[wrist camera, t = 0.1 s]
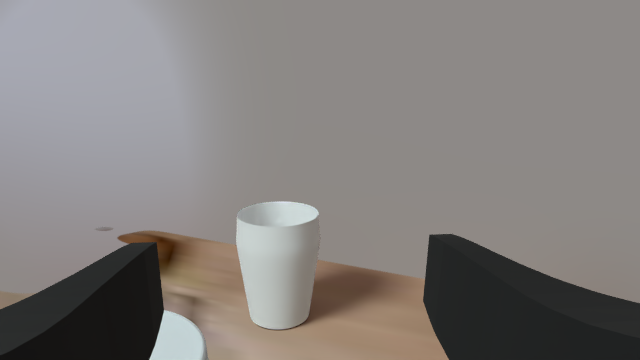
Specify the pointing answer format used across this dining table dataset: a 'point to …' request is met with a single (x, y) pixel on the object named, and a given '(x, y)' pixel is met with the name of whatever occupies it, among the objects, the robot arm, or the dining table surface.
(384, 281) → the dining table surface
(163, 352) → the supplement tub
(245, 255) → the cup
